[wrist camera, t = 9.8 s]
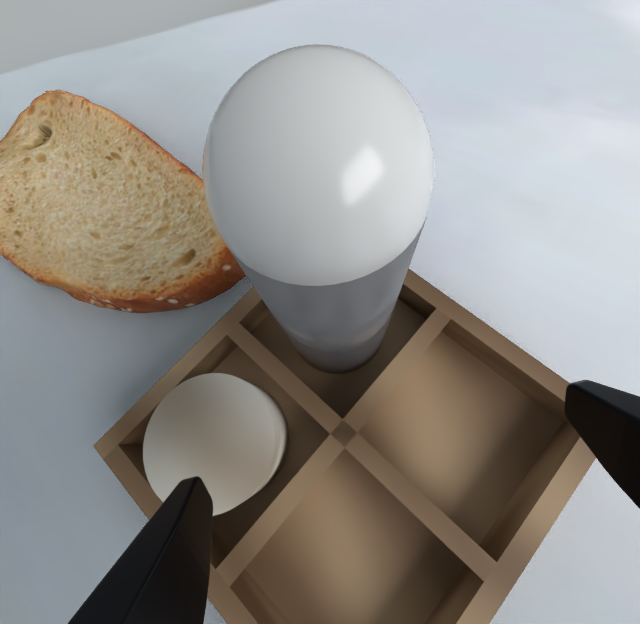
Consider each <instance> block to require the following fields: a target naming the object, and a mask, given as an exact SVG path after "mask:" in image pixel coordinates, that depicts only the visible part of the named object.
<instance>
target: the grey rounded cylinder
mask: <svg viewBox="0 0 640 624" xmlns="http://www.w3.org/2000/svg"><path fill="white" fill-rule="evenodd" d="M202 174H203V184H204V194H205V198H206V202H207V206H208V209H209V212H210V216H211V218H212V220H213V223H214V225H215V227H216V229H217V231H218V233H219V235H220V237H221V238H222V240H223V241H224V243H225V244H226V246H227V247H228V249H229V250H230V252H231V253H232V255H233V256H234V258H235V259H236V261H237V262H238V264H239V265H240V267H241V268H242V270H243V271H244V273H245V274H246V276H247V277H248V279H249V280H250V282H251V283H252V285H253V286H254V288H255V289H256V291H257V292H258V294H259V295H260V297H261V298H262V299H263V301H264V302H265V304H266V305H267V307H268V308H269V310H270V311H271V313H272V314H273V316H274V317H275V319H276V320H277V322H278V323H279V325H280V326H281V328H282V329H283V331H284V332H285V334H286V335H287V337H288V338H289V340H290V341H291V343H292V344H293V346H294V347H295V349H296V350H297V352H298V353H299V355H300V356H301V357H302V358H303V360H304V361H305V362H307V363H308V364H309V365H310V366H312V367H313V368H315V369H317V370H319V371H322V372H325V373H330V374H345V373H349V372H353V371H355V370H358V369H360V368H362V367H363V366H365V365H366V364H367V363H368V362H370V361H371V360H372V359H373V357H374V356H375V355H376V353H377V352H378V350H379V348H380V346H381V343H382V340H383V338H384V335H385V332H386V329H387V327H388V324H389V321H390V318H391V315H392V313H393V310H394V307H395V304H396V301H397V299H398V296H399V293H400V290H401V287H402V285H403V282H404V279H405V276H406V273H407V271H408V268H409V265H410V262H411V259H412V257H413V254H414V251H415V248H416V245H417V243H418V240H419V237H420V234H421V231H422V229H423V226H424V223H425V220H426V217H427V214H428V211H429V207H430V204H431V200H432V196H433V190H434V181H435V157H434V150H433V144H432V140H431V135H430V132H429V129H428V126H427V123H426V121H425V118H424V116H423V113H422V111H421V109H420V107H419V106H418V104H417V103H416V101H415V99H414V98H413V96H412V95H411V93H410V91H409V90H408V89H407V88H406V87H405V85H404V84H403V83H402V82H401V81H400V80H399V79H398V78H397V77H396V76H395V75H394V74H393V73H392V72H391V71H390V70H388V69H387V68H386V67H385V66H383V65H382V64H380V63H379V62H377V61H375V60H373V59H372V58H370V57H368V56H366V55H364V54H362V53H360V52H357V51H354V50H352V49H348V48H344V47H339V46H332V45H304V46H298V47H293V48H290V49H286V50H283V51H281V52H278V53H276V54H274V55H271V56H269V57H267V58H265V59H264V60H262V61H260V62H258V63H257V64H255V65H254V66H252V67H251V68H250V69H249V70H248V71H246V72H245V73H244V74H243V75H242V76H241V77H240V78H239V79H238V80H237V81H236V82H235V84H234V85H233V86H232V87H231V88H230V89H229V91H228V92H227V93H226V95H225V96H224V98H223V99H222V101H221V103H220V105H219V107H218V108H217V110H216V112H215V114H214V116H213V119H212V121H211V124H210V127H209V130H208V133H207V137H206V141H205V146H204V154H203V167H202Z"/></svg>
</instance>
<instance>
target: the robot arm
mask: <svg viewBox="0 0 640 624" xmlns="http://www.w3.org/2000/svg"><path fill="white" fill-rule="evenodd" d="M564 413H565V416H566V418H567V420H568V421H569V423H570V424H571V425H572V426H573V428H574V429H575V430H576V432H577V433H578V434H579V436H580V437H581V438H582V440H583V441H584V442H585V443H586V445H587V446H588V447H589V449H590V450H591V451H592V453H593V454H594V455H595V457H596V458H597V459H598V461H599V462H600V463H601V464H602V466H603V467H604V468H605V470H606V471H607V472H608V473H609V475H610V476H611V477H612V478H613V479H614V481H615V482H616V483H617V484H618V485H619V486H620V487H621V489H622V490H623V491H624V492H625V493H626V494H627V495H628V496H629V497H630V499H631V500H632V501H633V502H634V503H635V504H636V505H637V506H638V507H639V508H640V397H639V396H636V395H633V394H630V393H627V392H624V391H621V390H617V389H614V388H611V387H608V386H605V385H602V384H599V383H596V382H593V381H589V380H582V381H578V382H573V383H570V384H568V386H567V387H566V394H565V403H564ZM212 523H213V501H212V498H211V496H210V494H209V492H208V490H207V488H206V486H205V484H204V482H203V481H202V479H201V478H200V477H199V476H195V477H191V478H187V479H183V480H181V481H180V482H179V483H178V484H177V486H176V487H175V488H174V490H173V491H172V492H171V493H170V495H169V496H168V497H167V498H166V500H165V501H164V502H163V503H162V505H161V506H160V507H159V508H158V510H157V511H156V512H155V514H154V515H153V516H152V517H151V519H150V520H149V521H148V522H147V524H146V525H145V526H144V527H143V529H142V530H141V531H140V533H139V534H138V535H137V536H136V538H135V539H134V540H133V541H132V543H131V544H130V545H129V546H128V548H127V549H126V550H125V552H124V553H123V554H122V555H121V557H120V558H119V559H118V560H117V562H116V563H115V564H114V565H113V567H112V568H111V569H110V571H109V572H108V573H107V574H106V576H105V577H104V578H103V579H102V581H101V582H100V583H99V584H98V586H97V587H96V588H95V590H94V591H93V592H92V593H91V595H90V596H89V597H88V598H87V600H86V601H85V602H84V603H83V605H82V606H81V607H80V609H79V610H78V611H77V612H76V614H75V615H74V616H73V617H72V619H71V620H70V621H69V622H68V624H203V622H204V615H205V608H206V601H207V594H208V587H209V578H210V562H211V543H212Z"/></svg>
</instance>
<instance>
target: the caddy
mask: <svg viewBox="0 0 640 624" xmlns="http://www.w3.org/2000/svg"><path fill="white" fill-rule="evenodd" d="M568 384H570V383H569V382H567V381H566V380H564V379H563V378H562V377H560V376H559V375H557V374H556V373H555V372H553V371H552V370H550V369H549V368H548V367H546V366H545V365H543V364H542V363H541V362H539V361H538V360H536V359H535V358H534V357H532V356H531V355H529V354H528V353H527V352H525V351H524V350H522V349H521V348H520V347H518V346H517V345H515V344H514V343H512V342H511V341H510V340H508V339H507V338H505V337H504V336H503V335H501V334H500V333H498V332H497V331H496V330H494V329H493V328H491V327H490V326H489V325H487V324H486V323H484V322H483V321H482V320H480V319H479V318H477V317H476V316H475V315H473V314H472V313H470V312H469V311H468V310H466V309H465V308H463V307H462V306H460V305H459V304H458V303H456V302H455V301H453V300H452V299H451V298H449V297H448V296H446V295H445V294H444V293H442V292H441V291H439V290H438V289H437V288H435V287H434V286H432V285H431V284H430V283H428V282H427V281H425V280H424V279H423V278H421V277H420V276H418V275H417V274H416V273H414V272H413V271H411V270H410V269H408V271H407V273H406V276H405V279H404V282H403V285H402V287H401V290H400V293H399V296H398V299H397V301H396V304H395V307H394V310H393V313H392V315H391V318H390V321H389V324H388V327H387V329H386V332H385V335H384V338H383V340H382V343H381V346H380V348H379V350H378V352H377V353H376V355H375V356H374V357H373V359H372V360H371V361H370V362H368V363H367V364H366V365H365V366H363V367H362V368H360V369H358V370H355V371H353V372H349V373H345V374H330V373H325V372H322V371H319V370H317V369H315V368H313V367H312V366H310V365H309V364H308V363H307V362H305V361H304V360H303V358H302V357H301V356H300V355H299V353H298V352H297V350H296V349H295V347H294V346H293V344H292V343H291V341H290V340H289V338H288V337H287V335H286V334H285V332H284V331H283V329H282V328H281V326H280V325H279V323H278V322H277V320H276V319H275V317H274V316H273V314H272V313H271V311H270V310H269V308H268V307H267V305H266V304H265V302H264V301H263V299H262V298H261V297H260V295H259V294H258V292H257V291H256V289H255V288H254V287H253V288H252V289H251V290H250V291H249V292H248V293H247V294H246V295H245V296H244V297H243V298H242V299H241V300H240V301H239V302H238V303H237V304H235V305H234V306H233V307H232V308H231V309H230V310H229V311H228V312H227V313H226V314H225V315H224V316H223V317H222V318H221V319H220V320H219V321H218V322H217V323H216V324H215V325H214V326H213V327H212V328H211V329H210V330H209V331H208V332H207V333H206V334H205V335H204V336H203V337H202V338H201V339H200V340H199V341H198V342H197V343H196V344H195V345H194V346H193V347H192V348H191V349H190V350H189V351H188V352H187V353H186V354H185V355H184V356H183V357H182V358H181V359H180V360H179V361H178V362H177V363H176V364H175V365H174V366H173V367H172V368H171V369H170V370H169V371H168V372H167V373H166V374H165V375H164V376H163V377H162V378H161V379H160V380H159V381H158V382H157V383H156V384H155V385H154V386H153V387H152V388H151V389H150V390H149V391H148V392H147V393H146V394H145V395H144V396H143V397H142V398H141V399H140V400H139V401H138V402H137V403H136V404H135V405H134V406H133V407H132V408H131V409H130V410H129V411H128V412H127V413H126V414H125V415H124V416H123V417H122V418H121V419H120V420H119V421H118V422H117V423H116V424H115V425H114V426H113V427H112V428H111V429H110V430H109V431H108V432H107V433H106V434H105V435H104V436H103V437H102V438H101V439H100V440H98V441H97V442H96V443H95V444H94V445H93V446H94V448H95V449H96V450H97V452H98V453H99V454H100V456H101V457H102V458H103V460H104V461H105V462H106V464H107V465H108V466H109V468H110V469H111V470H112V472H113V473H114V474H115V476H116V477H117V478H118V479H119V481H120V482H121V483H122V485H123V486H124V487H125V489H126V490H127V491H128V493H129V494H130V495H131V497H132V498H133V499H134V501H135V502H136V503H137V505H138V506H139V507H140V509H141V510H142V511H143V513H144V514H145V515H146V517H147V518H148V519H149V520H150V519H151V517H152V516H153V515H154V514H155V512H156V511H157V510H158V508H159V507H160V506H161V505H162V503H163V502H164V501H165V500H166V498H167V497H168V496H169V495H170V493H171V492H172V491H173V490H174V488H175V487H176V486H177V484H178V483H179V482H180V481H181V480H183V479H187V478H191V477H195V476H199V477H200V478H201V479H202V481H203V482H204V484H205V486H206V488H207V490H208V492H209V494H210V496H211V498H212V501H213V523H212V543H211V562H210V578H209V587H208V594H207V597H208V599H209V600H210V601H211V603H212V604H213V605H214V607H215V608H216V609H217V611H218V612H219V613H220V615H221V616H222V617H223V618H224V620H225V621H226V622H227V624H489V623H490V622H491V620H492V619H493V617H494V616H495V614H496V612H497V611H498V609H499V608H500V606H501V605H502V603H503V602H504V600H505V598H506V597H507V595H508V594H509V592H510V591H511V589H512V588H513V586H514V584H515V583H516V581H517V580H518V578H519V577H520V575H521V574H522V572H523V570H524V569H525V567H526V566H527V564H528V563H529V561H530V560H531V558H532V556H533V555H534V553H535V552H536V550H537V549H538V547H539V546H540V544H541V542H542V541H543V539H544V538H545V536H546V535H547V533H548V532H549V530H550V528H551V527H552V525H553V524H554V522H555V521H556V519H557V518H558V516H559V514H560V513H561V511H562V510H563V508H564V507H565V505H566V504H567V502H568V500H569V499H570V497H571V496H572V494H573V493H574V491H575V490H576V488H577V486H578V485H579V483H580V482H581V480H582V479H583V477H584V476H585V474H586V472H587V471H588V469H589V468H590V466H591V465H592V463H593V462H594V460H595V458H596V457H595V455H594V454H593V453H592V451H591V450H590V449H589V447H588V446H587V445H586V443H585V442H584V441H583V440H582V438H581V437H580V436H579V434H578V433H577V432H576V430H575V429H574V428H573V426H572V425H571V424H570V423H569V421H568V420H567V418H566V416H565V413H564V403H565V394H566V387H567V386H568Z"/></svg>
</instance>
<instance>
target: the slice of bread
mask: <svg viewBox="0 0 640 624" xmlns="http://www.w3.org/2000/svg"><path fill="white" fill-rule="evenodd" d="M45 92H46V93H43V94H42V95H41V96H39V97H37V98H36V99H34V100H33V101H32V103H31V105H30V106H29V107H28V108H27V109H25V110H24V111H23V112H21V113H20V115H19V116H18V118H17V119H16V121H15V123H14V124H13V126H12V127H11V129H10V130H9V132H8V133H7V134H6V136H5V137H4V138H3V139H2V140H1V141H0V254H1V255H2V256H3V257H4V258H6V259H7V260H8V261H10V262H11V263H12V264H13V265H15V266H16V267H17V268H19V269H20V270H21V271H23V272H24V273H26V274H27V275H29V276H30V277H31V278H32V279H34V280H35V281H37V282H39V283H41V284H44V285H48V286H53V287H57V288H60V289H62V290H64V291H66V292H67V293H68V294H70V295H71V296H72V297H74V298H75V299H77V300H80V301H83V302H87V303H90V304H93V305H95V306H98V307H103V308H109V309H115V310H121V311H126V312H134V313H150V312H161V311H170V310H177V309H182V308H187V307H191V306H194V305H196V304H199V303H202V302H205V301H207V300H210V299H212V298H214V297H215V296H217V295H219V294H221V293H223V292H225V291H227V290H228V289H230V288H231V287H232V286H234V285H235V284H236V283H237V282H238V281H239V280H241V279H242V278H244V277H245V276H246V274H245V273H244V271H243V270H242V268H241V267H240V265H239V264H238V262H237V261H236V259H235V258H234V256H233V255H232V253H231V252H230V250H229V249H228V247H227V246H226V244H225V243H224V241H223V240H222V238H221V237H220V235H219V233H218V231H217V229H216V227H215V225H214V223H213V220H212V218H211V216H210V212H209V209H208V206H207V202H206V198H205V194H204V184H203V180H202V179H201V178H199V177H198V176H197V175H196V174H195V173H194V172H193V171H192V170H191V169H189V168H188V167H187V166H185V165H184V164H182V163H181V162H179V161H178V160H176V159H175V158H174V157H173V156H172V155H171V154H170V153H168V152H167V151H166V150H164V149H163V148H162V147H161V146H160V145H158V144H157V143H156V142H155V141H153V140H152V139H151V138H150V137H149V136H148V135H146V134H145V133H144V132H142V131H140V130H139V129H138V128H136V127H135V126H134V125H132V124H131V123H129V122H128V121H126V120H125V119H123V118H121V117H120V116H119V115H117V114H116V113H114V112H112V111H110V110H108V109H106V108H104V107H102V106H99V105H96V104H94V103H92V102H90V101H89V100H87V99H86V98H84V97H81V96H78V95H74V94H71V93H69V92H66V91H63V90H55V91H48V90H47V91H45Z"/></svg>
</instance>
